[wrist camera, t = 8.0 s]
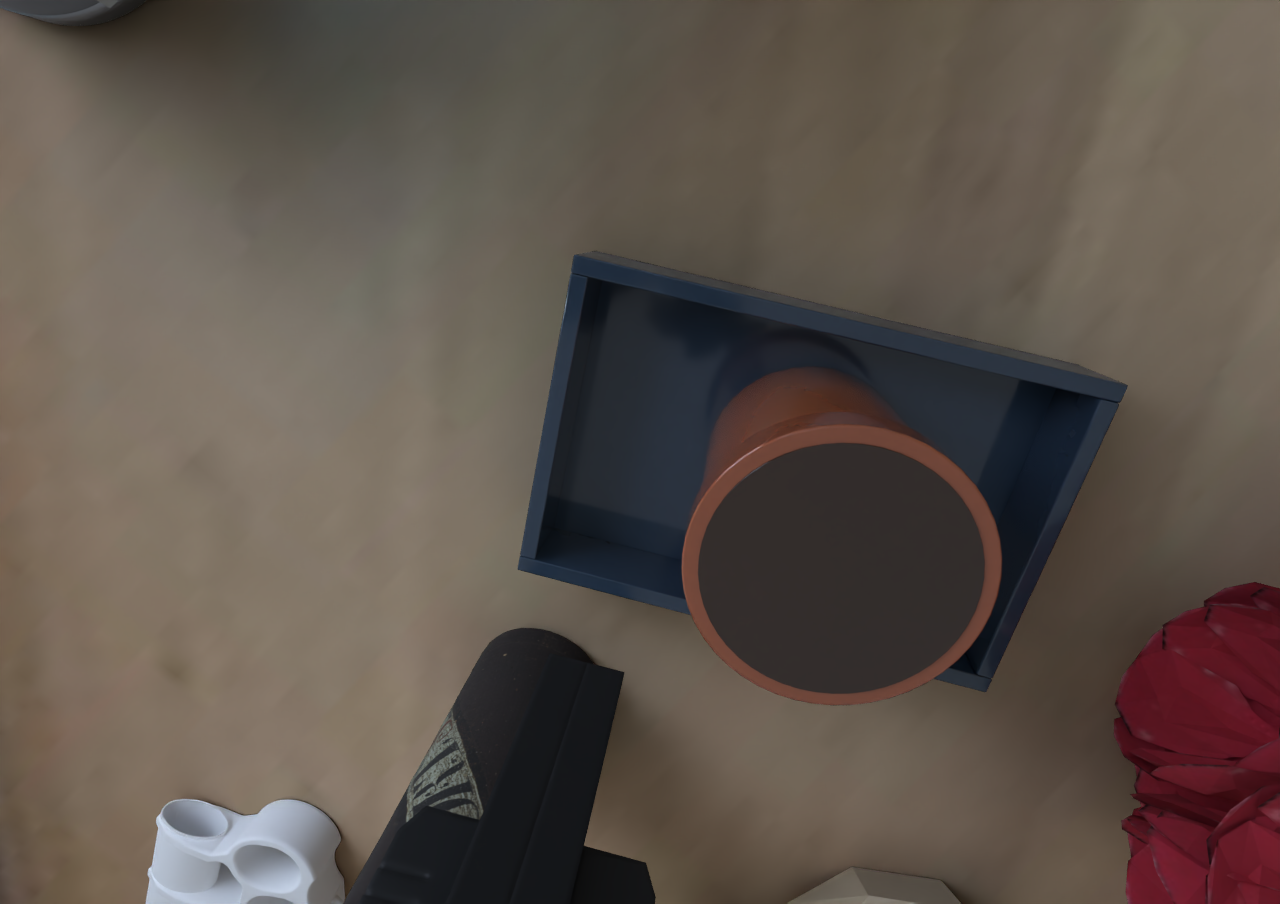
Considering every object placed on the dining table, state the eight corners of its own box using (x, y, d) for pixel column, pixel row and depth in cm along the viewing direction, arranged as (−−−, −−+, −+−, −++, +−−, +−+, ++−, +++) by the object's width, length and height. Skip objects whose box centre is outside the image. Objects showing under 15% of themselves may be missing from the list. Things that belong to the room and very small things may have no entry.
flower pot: (595, 342, 26) (1027, 504, 18) (780, 335, 38) (1085, 430, 30) (547, 593, 29) (891, 820, 21) (730, 513, 41) (992, 638, 34)
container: (558, 599, 41) (405, 925, 22) (640, 716, 42) (564, 1111, 23) (444, 658, 43) (216, 999, 24) (526, 766, 45) (374, 1163, 26)
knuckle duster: (188, 754, 48) (386, 833, 48) (158, 924, 54) (333, 995, 54) (150, 791, 45) (361, 876, 45) (122, 968, 51) (308, 1043, 51)
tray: (594, 250, 34) (573, 254, 30) (1077, 364, 33) (1129, 385, 29) (541, 531, 39) (517, 570, 35) (957, 639, 38) (986, 693, 34)
